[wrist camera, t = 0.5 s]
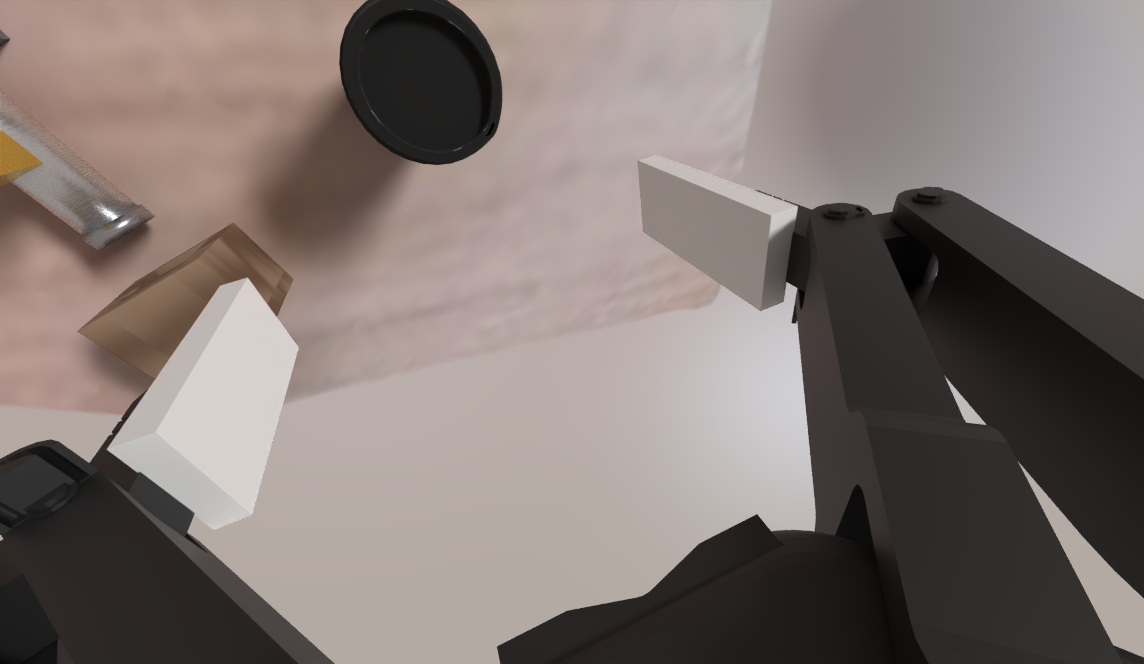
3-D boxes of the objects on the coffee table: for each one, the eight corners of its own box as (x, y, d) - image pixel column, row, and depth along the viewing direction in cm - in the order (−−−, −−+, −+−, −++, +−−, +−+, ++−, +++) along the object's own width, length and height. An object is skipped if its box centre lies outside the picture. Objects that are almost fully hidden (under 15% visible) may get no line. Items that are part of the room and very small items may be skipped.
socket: (135, 281, 34) (76, 331, 28) (233, 222, 34) (198, 258, 28) (205, 332, 38) (168, 387, 31) (293, 279, 38) (274, 322, 31)
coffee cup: (439, 157, 37) (464, 200, 25) (336, 94, 32) (306, 111, 20) (486, 65, 35) (538, 64, 23) (383, -17, 30) (381, -71, 18)
